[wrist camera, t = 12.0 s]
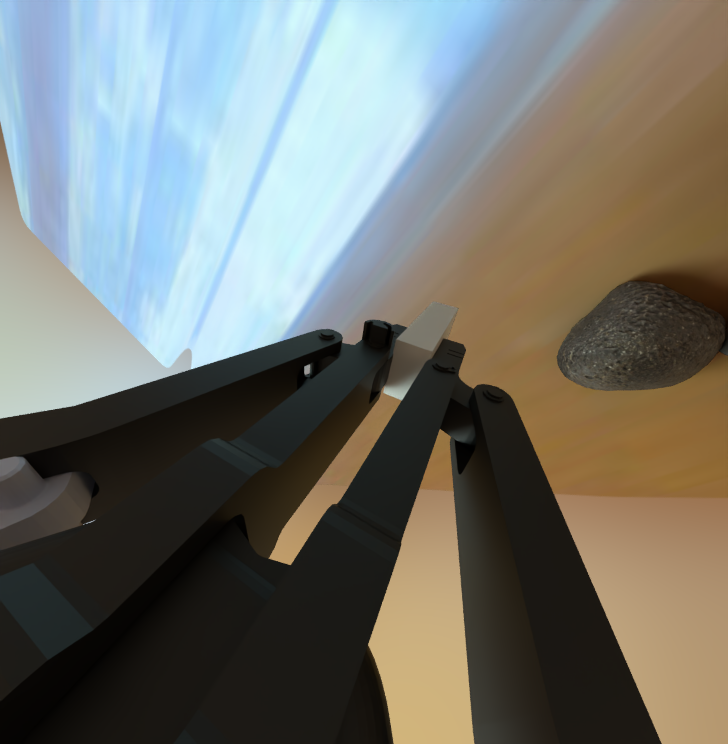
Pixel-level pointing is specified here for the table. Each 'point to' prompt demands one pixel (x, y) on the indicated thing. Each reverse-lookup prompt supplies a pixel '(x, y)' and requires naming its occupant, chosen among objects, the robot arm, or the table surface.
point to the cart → (725, 344)
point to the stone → (641, 340)
